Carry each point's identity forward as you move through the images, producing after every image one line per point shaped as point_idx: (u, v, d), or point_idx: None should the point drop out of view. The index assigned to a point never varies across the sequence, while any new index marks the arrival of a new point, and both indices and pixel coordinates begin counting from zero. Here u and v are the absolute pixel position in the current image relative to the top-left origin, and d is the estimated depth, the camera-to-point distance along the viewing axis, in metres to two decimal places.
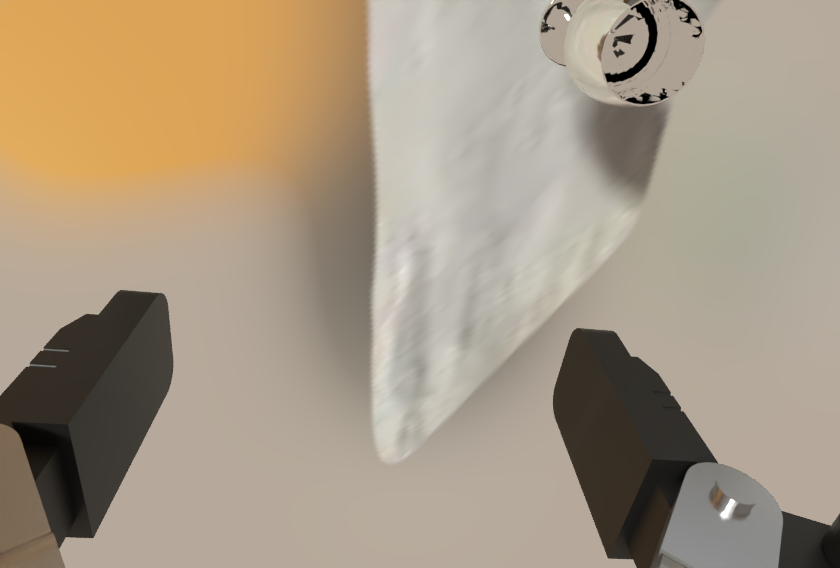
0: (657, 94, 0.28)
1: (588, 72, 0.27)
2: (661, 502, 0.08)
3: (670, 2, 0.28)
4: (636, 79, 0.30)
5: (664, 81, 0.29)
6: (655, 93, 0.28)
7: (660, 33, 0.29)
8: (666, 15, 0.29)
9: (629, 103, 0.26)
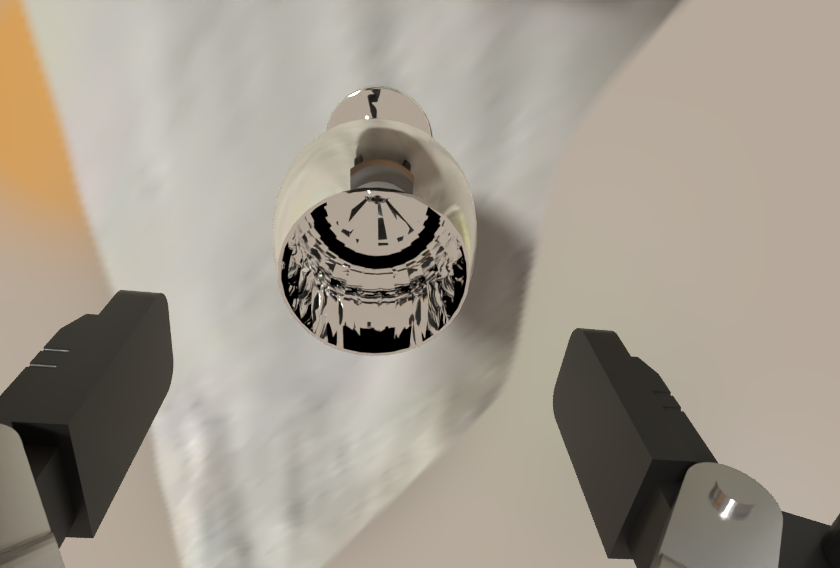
0: (430, 309, 0.17)
1: None
2: (661, 502, 0.08)
3: (446, 156, 0.16)
4: (425, 257, 0.19)
5: (449, 279, 0.17)
6: (432, 302, 0.17)
7: None
8: None
9: (353, 352, 0.15)
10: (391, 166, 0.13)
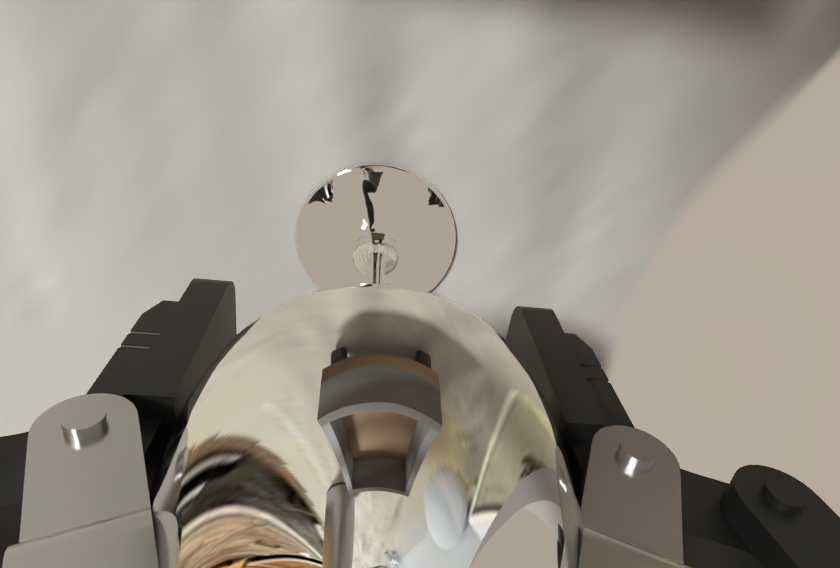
0: None
1: None
2: (575, 463, 0.09)
3: (515, 371, 0.08)
4: None
5: None
6: None
7: None
8: None
9: None
10: (406, 516, 0.05)
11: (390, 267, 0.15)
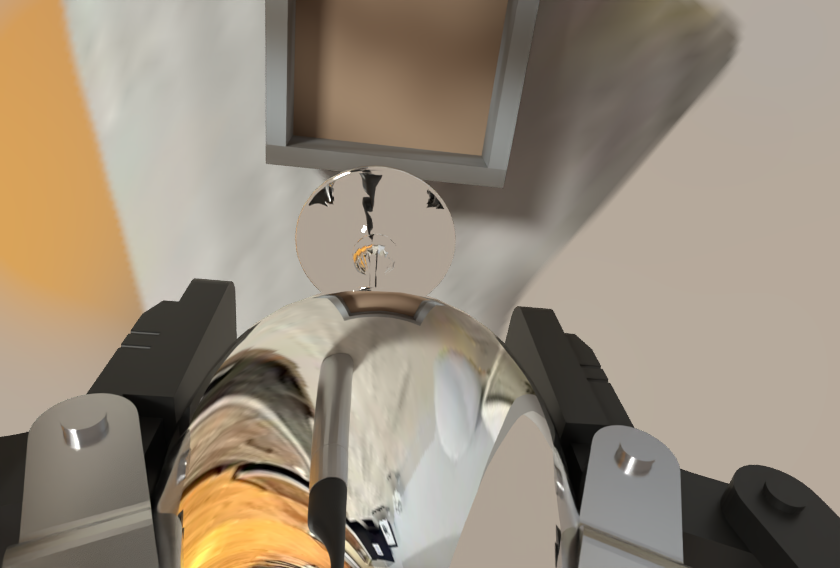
0: None
1: None
2: (574, 463, 0.09)
3: (513, 375, 0.08)
4: None
5: None
6: None
7: None
8: None
9: None
10: (405, 520, 0.05)
11: (390, 269, 0.15)
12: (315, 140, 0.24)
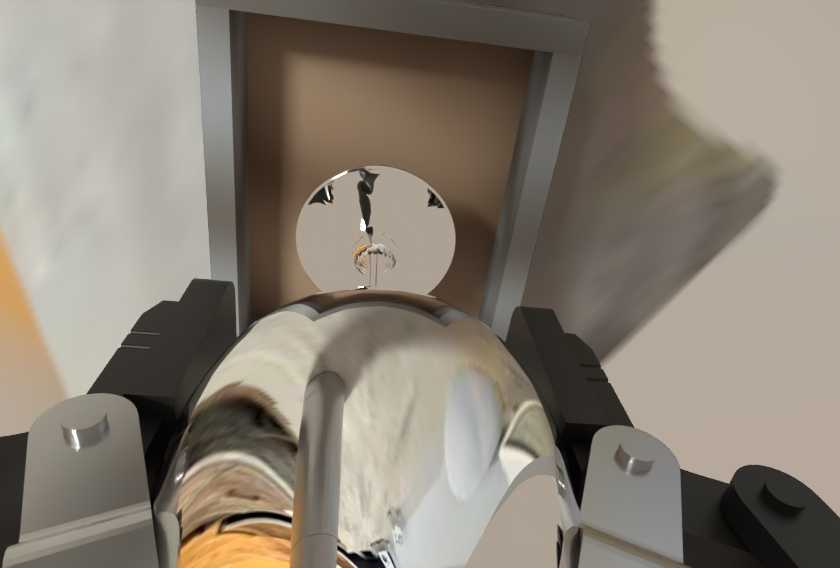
0: None
1: None
2: (574, 463, 0.09)
3: (513, 374, 0.08)
4: None
5: None
6: None
7: None
8: None
9: None
10: (405, 519, 0.05)
11: (390, 269, 0.15)
12: None
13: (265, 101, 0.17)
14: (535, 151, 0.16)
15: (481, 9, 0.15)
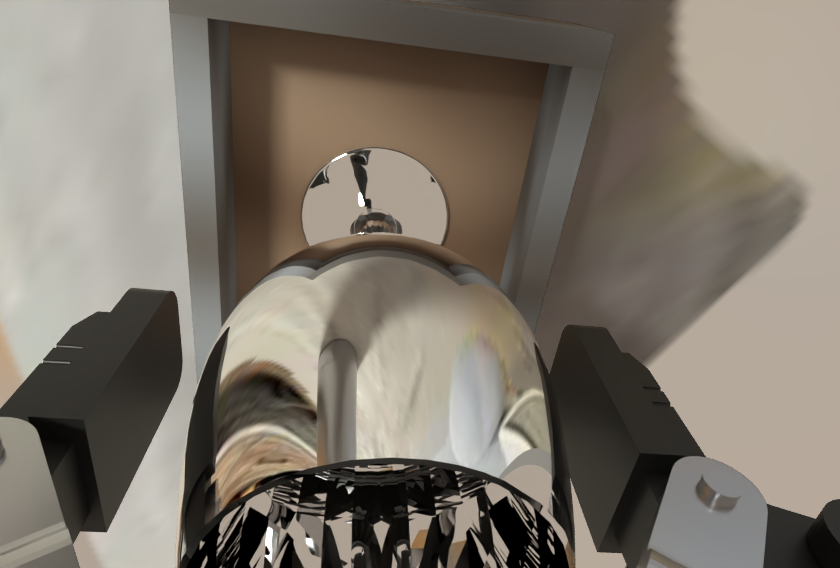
0: (473, 562, 0.09)
1: None
2: (649, 496, 0.08)
3: None
4: None
5: (502, 496, 0.10)
6: (474, 542, 0.10)
7: None
8: None
9: None
10: (415, 384, 0.06)
11: None
12: None
13: (251, 118, 0.16)
14: (551, 175, 0.15)
15: (492, 18, 0.13)
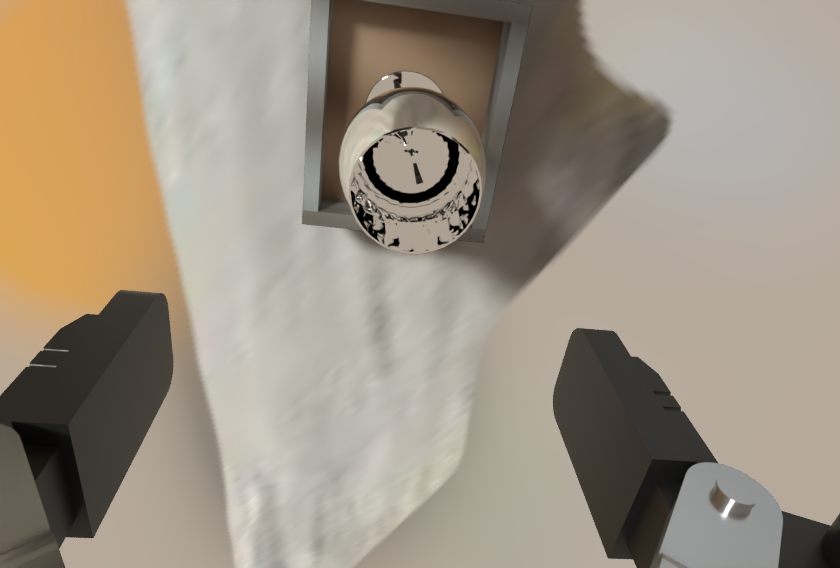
0: (450, 228, 0.22)
1: (349, 208, 0.21)
2: (661, 502, 0.08)
3: None
4: (445, 196, 0.25)
5: (464, 208, 0.23)
6: (452, 224, 0.23)
7: None
8: None
9: (397, 250, 0.21)
10: (428, 114, 0.19)
11: None
12: (339, 204, 0.32)
13: (340, 53, 0.28)
14: (502, 82, 0.28)
15: None
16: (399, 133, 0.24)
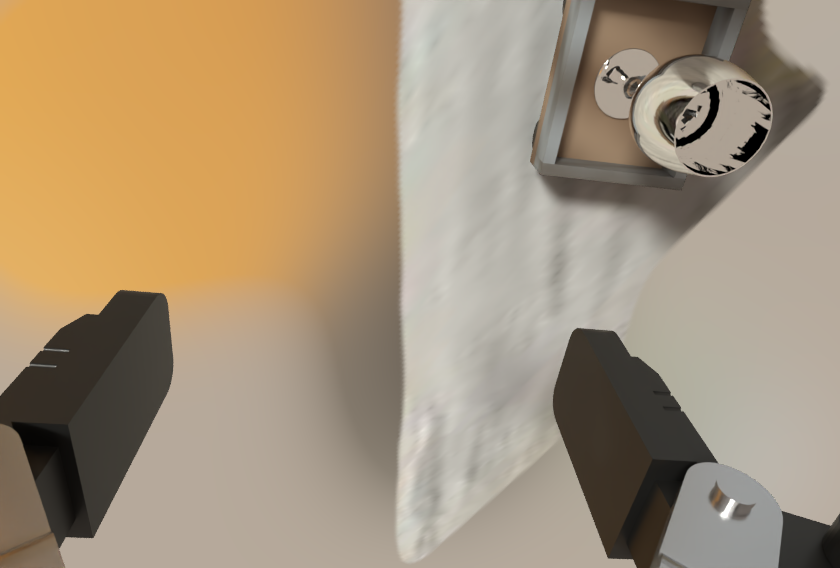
0: (720, 162, 0.30)
1: (658, 144, 0.28)
2: (661, 502, 0.08)
3: None
4: (695, 142, 0.32)
5: (725, 148, 0.30)
6: (718, 159, 0.30)
7: (720, 101, 0.31)
8: (728, 85, 0.30)
9: (698, 174, 0.28)
10: (736, 71, 0.26)
11: None
12: (563, 159, 0.39)
13: None
14: (719, 56, 0.35)
15: None
16: None
